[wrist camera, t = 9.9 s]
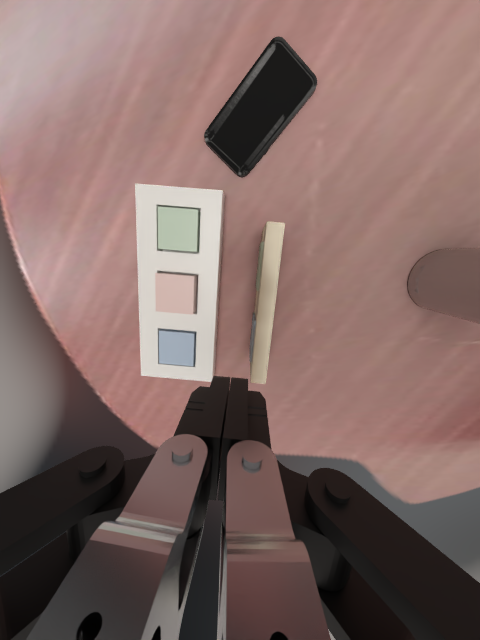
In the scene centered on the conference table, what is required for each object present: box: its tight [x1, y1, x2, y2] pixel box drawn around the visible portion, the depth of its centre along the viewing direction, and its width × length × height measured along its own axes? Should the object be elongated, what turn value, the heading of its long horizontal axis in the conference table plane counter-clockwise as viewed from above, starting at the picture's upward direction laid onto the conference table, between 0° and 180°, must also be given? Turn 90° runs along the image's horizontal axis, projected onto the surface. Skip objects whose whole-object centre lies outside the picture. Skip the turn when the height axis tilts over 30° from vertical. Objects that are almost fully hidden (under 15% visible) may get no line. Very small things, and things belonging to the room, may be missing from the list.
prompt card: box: [250, 222, 285, 384], centre depth 33 cm, size 2×20×10 cm, turn 175°
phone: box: [204, 37, 317, 177], centre depth 32 cm, size 8×1×15 cm
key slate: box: [159, 329, 197, 366], centre depth 39 cm, size 6×6×3 cm
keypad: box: [135, 184, 225, 382], centre depth 37 cm, size 12×29×3 cm, turn 175°
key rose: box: [155, 272, 198, 315], centre depth 35 cm, size 6×6×3 cm
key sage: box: [158, 207, 201, 252], centre depth 34 cm, size 6×6×3 cm
